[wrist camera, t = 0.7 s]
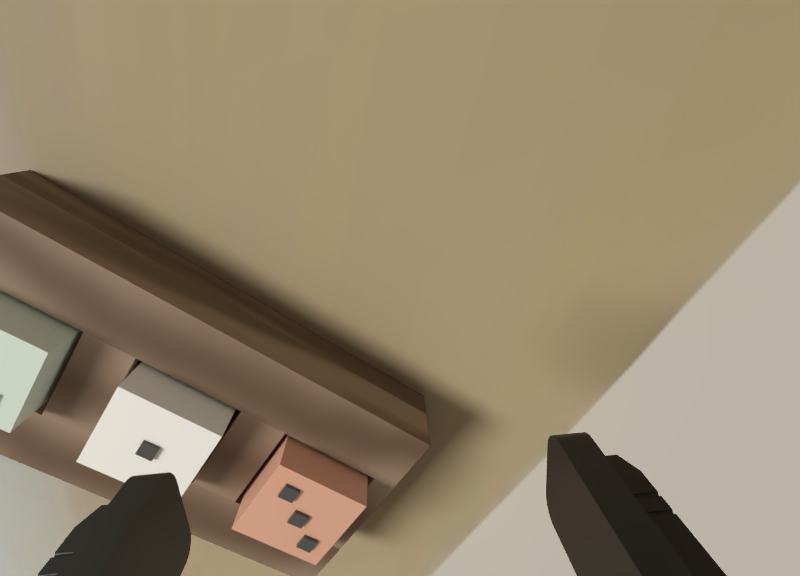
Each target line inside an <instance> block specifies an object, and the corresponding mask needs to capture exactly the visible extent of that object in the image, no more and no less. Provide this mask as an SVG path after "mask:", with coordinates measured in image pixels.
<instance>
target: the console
mask: <svg viewBox="0 0 800 576" xmlns="http://www.w3.org/2000/svg"><path fill="white" fill-rule="evenodd" d="M0 290H1V291H3V292H5V293H7V294H9V295H11V296H13V297H15V298H17V299H19V300H21V301H23V302H25V303H27V304H29V305H31V306H33V307H35V308H37V309H39V310H41V311H43V312H45V313H47V314H49V315H51V316H53V317H55V318H57V319H59V320H61V321H63V322H65V323H66V324H68V325H70V326H72V327H74V328H76V329H78V330H80V331H82V332H83V334H82V336H81V338H80V340H79V342H78V344H77V346H76V348H75V350H74V352H73V354H72V356H71V358H70V360H69V362H68V364H67V366H66V368H65V370H64V372H63V374H62V376H61V378H60V380H59V382H58V384H57V386H56V388H55V390H54V392H53V394H52V396H51V398H50V399H49V400H48V401H47V402H46V403H44V404H43V405H42V406H41V407H40V408H39V409H37V410H36V411H35V412H34V413H33V414H32V415H30V416H29V417H28V418H27V419H26V420H25V421H23V422H22V423H21V424H20V425H19V426H18V427H16V428H15V429H14V430H13V431H12V432H11V433H8V432H6V431H4V430H1V429H0V454H1V455H4V456H6V457H8V458H11V459H13V460H16V461H18V462H20V463H23V464H25V465H27V466H30V467H32V468H35V469H37V470H39V471H42V472H44V473H47V474H49V475H51V476H54V477H56V478H58V479H61V480H63V481H66V482H68V483H70V484H73V485H75V486H78V487H80V488H82V489H85V490H87V491H90V492H92V493H94V494H97V495H99V496H101V497H104V498H106V499H109V500H111V501H112V499H113V498H114V497H115V495H116V494H117V492H118V491H119V490H120V488H121V487H122V486H123V484H124V482H122V481H119V480H117V479H115V478H112V477H110V476H108V475H105V474H103V473H101V472H98V471H96V470H94V469H92V468H89V467H87V466H85V465H82V464H80V463H78V462H76V461H77V459H78V458H79V456H80V454H81V452H82V450H83V449H84V447H85V445H86V443H87V441H88V439H89V438H90V436H91V434H92V432H93V430H94V429H95V427H96V425H97V423H98V421H99V420H100V418H101V416H102V414H103V412H104V411H105V409H106V407H107V405H108V403H109V402H110V400H111V398H112V396H113V394H114V393H115V391H116V389H117V387H118V386H119V385H120V384H121V383H122V382H123V381H124V380H125V379H126V378H127V377H128V376H129V375H130V373H131V372H132V371H133V370H134V369H135V368H136V367H137V366H138V365H139V364H140V363H141V362H144V363H146V364H148V365H150V366H152V367H154V368H156V369H158V370H160V371H162V372H164V373H166V374H168V375H170V376H172V377H174V378H176V379H178V380H180V381H182V382H184V383H186V384H188V385H190V386H192V387H194V388H196V389H198V390H200V391H202V392H204V393H205V394H207V395H209V396H211V397H213V398H215V399H217V400H219V401H221V402H223V403H225V404H227V405H229V406H231V407H233V408H235V409H236V410H235V412H234V414H233V416H232V418H231V420H230V422H229V424H228V426H227V428H226V430H225V432H224V434H223V436H222V438H221V439H220V441H219V442H218V444H217V445H216V447H215V448H214V449H213V451H212V452H211V454H210V455H209V457H208V458H207V460H206V461H205V463H204V464H203V466H202V467H201V469H200V470H199V472H198V473H197V475H196V476H195V477H194V479H193V480H192V482H191V483H190V485H189V486H188V488H187V489H186V491H185V492H184V494H183V495H182V497H181V498H182V501H183V505H184V508H185V512H186V516H187V519H188V523H189V526H190V532H191V534H192V535H194V536H197V537H199V538H202V539H204V540H206V541H209V542H211V543H214V544H216V545H218V546H221V547H223V548H226V549H228V550H230V551H233V552H235V553H237V554H240V555H242V556H245V557H247V558H249V559H252V560H254V561H257V562H259V563H261V564H264V565H266V566H268V567H271V568H273V569H276V570H278V571H280V572H283V573H285V574H288V575H290V576H317V574H318V573H319V572H320V571H321V570H322V569H323V568H324V567H325V565H326V564H327V563H328V562H329V561H330V560H331V559H332V557H333V556H334V555H335V554H336V553H337V552H338V551H339V549H340V548H341V547H342V546H343V545H344V544H345V543H346V541H347V540H348V539H349V538H350V537H351V536H352V535H353V534H354V532H355V531H356V530H357V529H358V528H359V527H360V526H361V524H362V523H363V522H364V521H365V520H366V519H367V518H368V516H369V515H370V514H371V513H372V512H373V511H374V510H375V509H376V507H377V506H378V505H379V504H380V503H381V502H382V501H383V499H384V498H385V497H386V496H387V495H388V494H389V493H390V491H391V490H392V489H393V488H394V487H395V486H396V485H397V483H398V482H399V481H400V480H401V479H402V478H403V477H404V476H405V474H406V473H407V472H408V471H409V470H410V469H411V468H412V466H413V465H414V464H415V463H416V462H417V461H418V460H419V458H420V457H421V456H422V455H423V454H424V453H425V452H426V451H427V449H428V448H429V447H430V446H431V445H430V438H429V431H428V424H427V417H426V410H425V403H424V396H423V395H421V394H419V393H417V392H416V391H414V390H412V389H410V388H409V387H407V386H405V385H403V384H402V383H400V382H398V381H396V380H395V379H393V378H391V377H390V376H388V375H386V374H384V373H383V372H381V371H379V370H377V369H376V368H374V367H372V366H370V365H369V364H367V363H365V362H363V361H362V360H360V359H358V358H356V357H355V356H353V355H351V354H349V353H348V352H346V351H344V350H343V349H341V348H339V347H337V346H336V345H334V344H332V343H330V342H329V341H327V340H325V339H323V338H322V337H320V336H318V335H316V334H315V333H313V332H311V331H309V330H308V329H306V328H304V327H302V326H301V325H299V324H297V323H296V322H294V321H292V320H290V319H289V318H287V317H285V316H283V315H282V314H280V313H278V312H276V311H275V310H273V309H271V308H269V307H268V306H266V305H264V304H262V303H261V302H259V301H257V300H255V299H254V298H252V297H250V296H248V295H247V294H245V293H243V292H242V291H240V290H238V289H236V288H235V287H233V286H231V285H229V284H228V283H226V282H224V281H222V280H221V279H219V278H217V277H215V276H214V275H212V274H210V273H208V272H207V271H205V270H203V269H201V268H200V267H198V266H196V265H195V264H193V263H191V262H189V261H188V260H186V259H184V258H182V257H181V256H179V255H177V254H175V253H174V252H172V251H170V250H168V249H167V248H165V247H163V246H161V245H160V244H158V243H156V242H154V241H153V240H151V239H149V238H147V237H146V236H144V235H142V234H141V233H139V232H137V231H135V230H134V229H132V228H130V227H128V226H127V225H125V224H123V223H121V222H120V221H118V220H116V219H114V218H113V217H111V216H109V215H107V214H106V213H104V212H102V211H100V210H99V209H97V208H95V207H94V206H92V205H90V204H88V203H87V202H85V201H83V200H81V199H80V198H78V197H76V196H74V195H73V194H71V193H69V192H67V191H66V190H64V189H62V188H60V187H59V186H57V185H55V184H53V183H52V182H50V181H48V180H47V179H45V178H43V177H41V176H40V175H38V174H36V173H34V172H33V171H31V170H29V171H22V172H16V173H10V174H4V175H0ZM284 434H287V435H289V436H291V437H293V438H295V439H297V440H299V441H301V442H303V443H305V444H307V445H309V446H311V447H313V448H315V449H317V450H319V451H321V452H323V453H325V454H327V455H329V456H331V457H333V458H335V459H337V460H339V461H341V462H342V463H344V464H346V465H348V466H350V467H352V468H354V469H356V470H358V471H360V472H362V473H364V474H366V475H368V485H367V507H366V508H365V509H364V510H363V511H362V513H361V514H360V515H359V516H358V517H357V518H356V519H355V521H354V522H353V523H352V524H351V525H350V526H349V528H348V529H347V530H346V531H345V532H344V533H343V534H342V536H341V537H340V538H339V539H338V540H337V541H336V543H335V544H334V545H333V546H332V547H331V548H330V549H329V551H328V552H327V553H326V554H325V555H324V556H323V557H322V559H321V560H320V561H319V562H318V563H317V564H316V565H314V564H311V563H309V562H307V561H304V560H302V559H300V558H298V557H295V556H293V555H291V554H288V553H286V552H284V551H281V550H279V549H277V548H274V547H272V546H270V545H267V544H265V543H263V542H261V541H258V540H256V539H254V538H251V537H249V536H247V535H244V534H242V533H240V532H237V531H235V530H233V529H232V526H233V523H234V521H235V518H236V515H237V512H238V509H239V507H240V504H241V501H242V498H243V496H244V493H245V490H246V487H247V485H248V483H249V482H250V481H251V479H252V478H253V477H254V475H255V474H256V473H257V471H258V470H259V468H260V467H261V466H262V464H263V463H264V462H265V460H266V459H267V458H268V456H269V455H270V454H271V452H272V451H273V449H274V448H275V447H276V445H277V444H278V443H279V441H280V440H281V439H282V437H283V436H284Z"/></svg>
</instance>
